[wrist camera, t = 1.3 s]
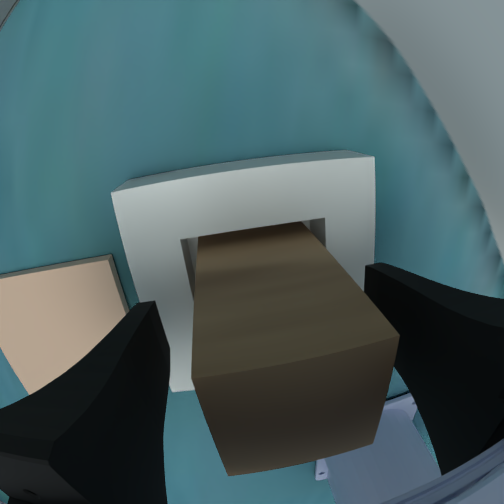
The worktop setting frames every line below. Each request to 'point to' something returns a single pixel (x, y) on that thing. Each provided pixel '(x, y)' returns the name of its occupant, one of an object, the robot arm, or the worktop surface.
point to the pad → (57, 316)
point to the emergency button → (6, 10)
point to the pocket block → (238, 224)
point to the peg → (285, 350)
